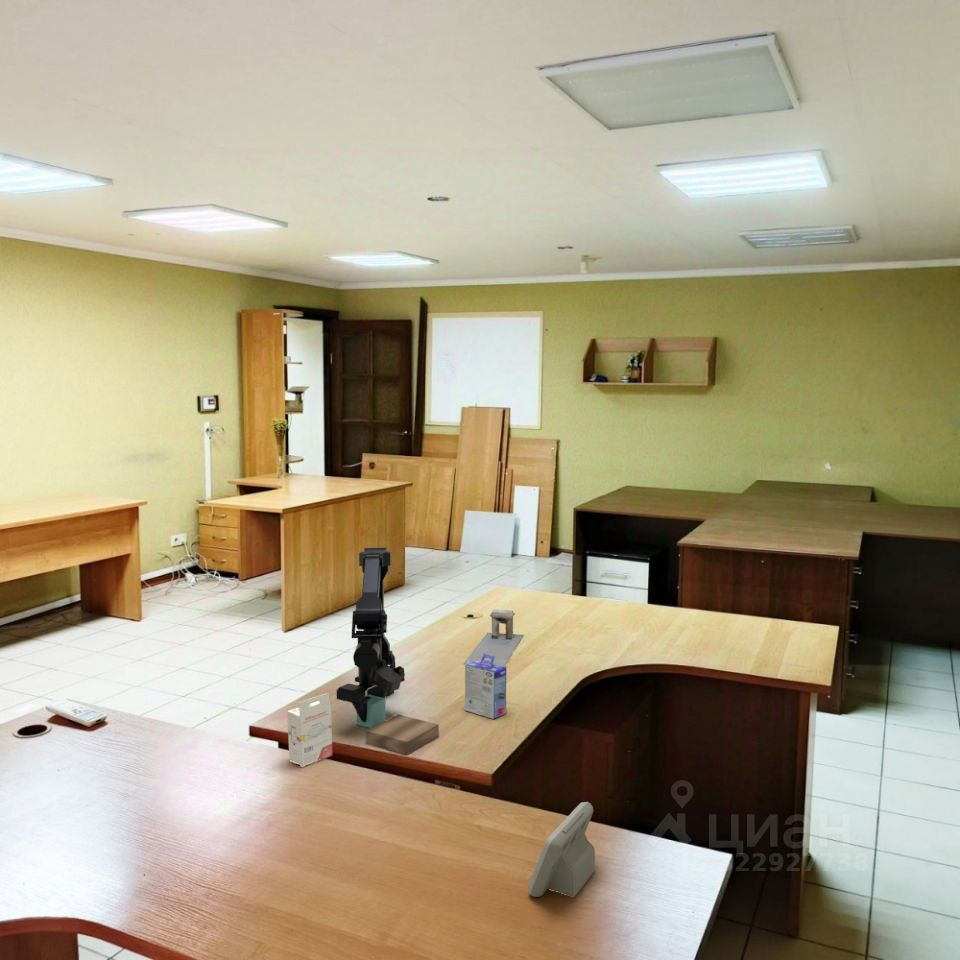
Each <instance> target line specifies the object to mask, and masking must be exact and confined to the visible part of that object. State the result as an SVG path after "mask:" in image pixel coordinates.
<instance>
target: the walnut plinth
mask: <svg viewBox="0 0 960 960" xmlns="http://www.w3.org/2000/svg"><path fill="white" fill-rule="evenodd" d="M439 725H440V724H439V723H435V722H431V721H426V720H422V719H419V718H414V717H411V716H406V715H402V714H397V715H395V716H392V717H391V718H389V719H386V721H385V722H383V723H381V724H379V725H377V726H375V727H373V728H368V729H367V730H366V731H365V735H366V737H365V740H366V744H367V745H371V746H375V747H378V748H381V749H385V750H389V751H392V752H395V753H398V754H399V753H400V754H403V755H406V756H408V755H410V754H411V753H413V752H415V751H417V750H419V749H421V748H422V747H423V746H426V745H427V744H429V743H430V742H432V741H434V740H436V739H438V738H439V737H440V732H439V730H440V726H439Z"/></svg>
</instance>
